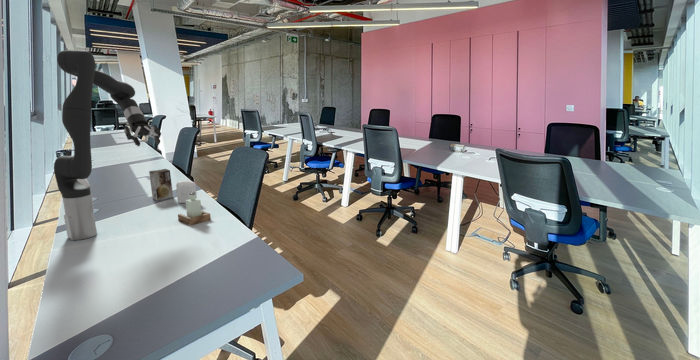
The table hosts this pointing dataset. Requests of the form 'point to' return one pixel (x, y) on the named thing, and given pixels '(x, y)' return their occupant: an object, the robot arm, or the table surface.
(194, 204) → the bottle
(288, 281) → the table surface
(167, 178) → the coffee box
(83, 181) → the bath foam
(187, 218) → the rest
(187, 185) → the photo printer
